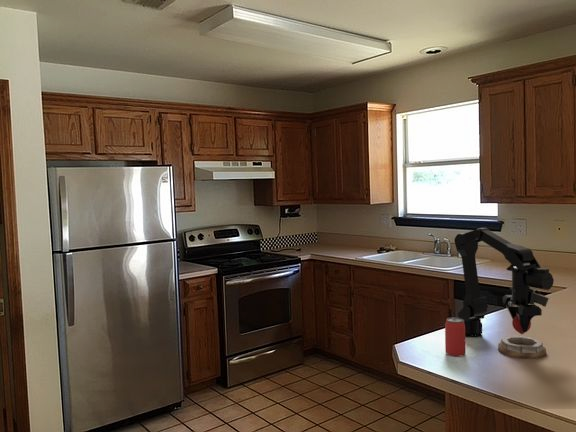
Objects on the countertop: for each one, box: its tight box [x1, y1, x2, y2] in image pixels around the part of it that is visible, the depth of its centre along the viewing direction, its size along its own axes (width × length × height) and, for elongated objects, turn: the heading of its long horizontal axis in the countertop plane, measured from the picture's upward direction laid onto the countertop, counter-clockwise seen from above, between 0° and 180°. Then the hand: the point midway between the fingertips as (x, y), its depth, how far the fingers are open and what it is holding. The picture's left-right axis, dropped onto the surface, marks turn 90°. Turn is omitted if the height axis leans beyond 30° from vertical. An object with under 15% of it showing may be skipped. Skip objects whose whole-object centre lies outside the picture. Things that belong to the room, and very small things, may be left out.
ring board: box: [497, 335, 547, 360], centre depth 169 cm, size 15×15×4 cm
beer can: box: [444, 317, 467, 357], centre depth 168 cm, size 7×7×12 cm
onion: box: [511, 315, 532, 335], centre depth 169 cm, size 6×6×8 cm
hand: (521, 329), depth 169 cm, fingers closed on onion, 6 cm apart
